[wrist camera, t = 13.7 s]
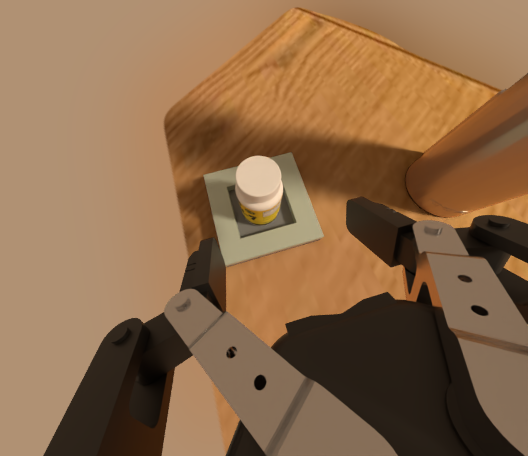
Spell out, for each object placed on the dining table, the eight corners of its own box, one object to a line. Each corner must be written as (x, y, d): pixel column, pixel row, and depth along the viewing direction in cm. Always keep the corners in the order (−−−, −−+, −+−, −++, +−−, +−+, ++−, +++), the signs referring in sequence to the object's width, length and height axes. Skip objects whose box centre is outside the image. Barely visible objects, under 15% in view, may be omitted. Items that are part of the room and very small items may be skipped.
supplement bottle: (235, 205, 24) (219, 168, 16) (264, 185, 25) (264, 141, 17) (256, 234, 23) (251, 211, 15) (286, 213, 24) (297, 180, 16)
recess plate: (208, 183, 26) (203, 175, 24) (289, 161, 27) (291, 152, 25) (228, 266, 23) (224, 265, 21) (318, 240, 24) (324, 236, 22)
